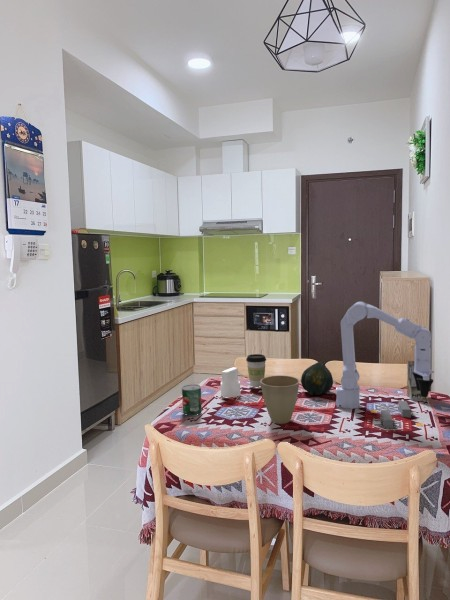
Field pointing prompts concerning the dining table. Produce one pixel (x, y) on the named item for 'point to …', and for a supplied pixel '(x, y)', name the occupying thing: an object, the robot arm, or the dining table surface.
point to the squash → (317, 379)
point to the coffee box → (412, 384)
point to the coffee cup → (256, 368)
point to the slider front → (386, 419)
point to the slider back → (404, 409)
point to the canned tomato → (191, 399)
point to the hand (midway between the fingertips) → (422, 393)
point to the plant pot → (280, 397)
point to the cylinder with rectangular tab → (230, 383)
